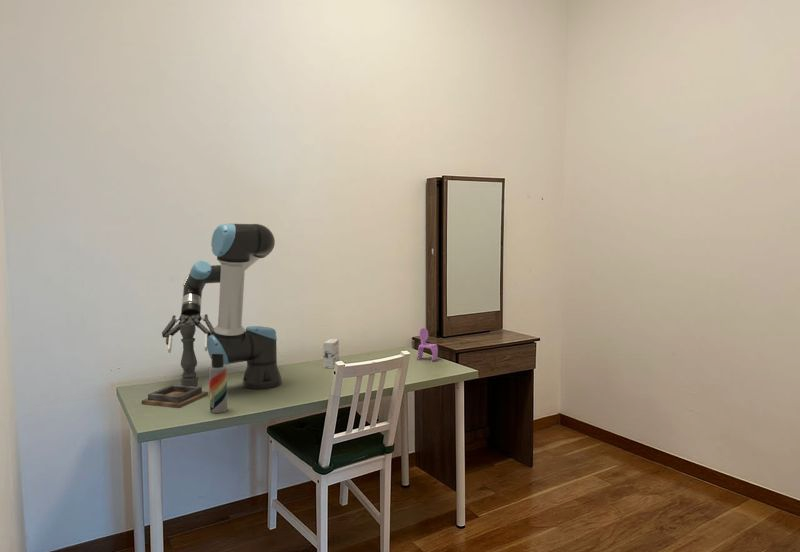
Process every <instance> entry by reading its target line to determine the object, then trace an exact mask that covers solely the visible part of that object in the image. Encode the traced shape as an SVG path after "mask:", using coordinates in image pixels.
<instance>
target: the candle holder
mask: <svg viewBox="0 0 800 552" xmlns="http://www.w3.org/2000/svg"><path fill="white" fill-rule="evenodd" d="M196 329H197V327H196V325H195V323H183V324H180V330H179V333H180V335H181V336H182V338H181V339H180V342H182V349H183V350H182V354H181V359H180V367H181V368H182V371H183V372H182V373H181V379H180V383H181V384H180V385H181V386H192V387H199V380H198V379H199V377H198V373H197V371H195V370H196V367H197V366H198V360H197V357H196V353H195V349H194V347H195V346H194V344H195V341H196V338H195V337H194V336H195V334H196V331H197V330H196Z"/></svg>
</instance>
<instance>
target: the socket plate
mask: <svg viewBox="0 0 800 552" xmlns="http://www.w3.org/2000/svg"><path fill="white" fill-rule="evenodd" d="M208 395H209V392H208V391H203V389H202V386H201V387H200V386H197V387H192V386H181V384H180V385H178V384H170V385H168V386H165V387H163V388H161V389H158V390H156V391H154V392H149V393H147V398H144V399H142V400H141V405H146V404H151V405H150V406H156V405H159V406H158V407H166V406H167V408H178V409H180V408H183V407H185V406H187V405H189V404H191V403H193V402H195V401H197V400H198V401H199V400H200V399H203V398H204V397H207V396H208Z"/></svg>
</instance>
